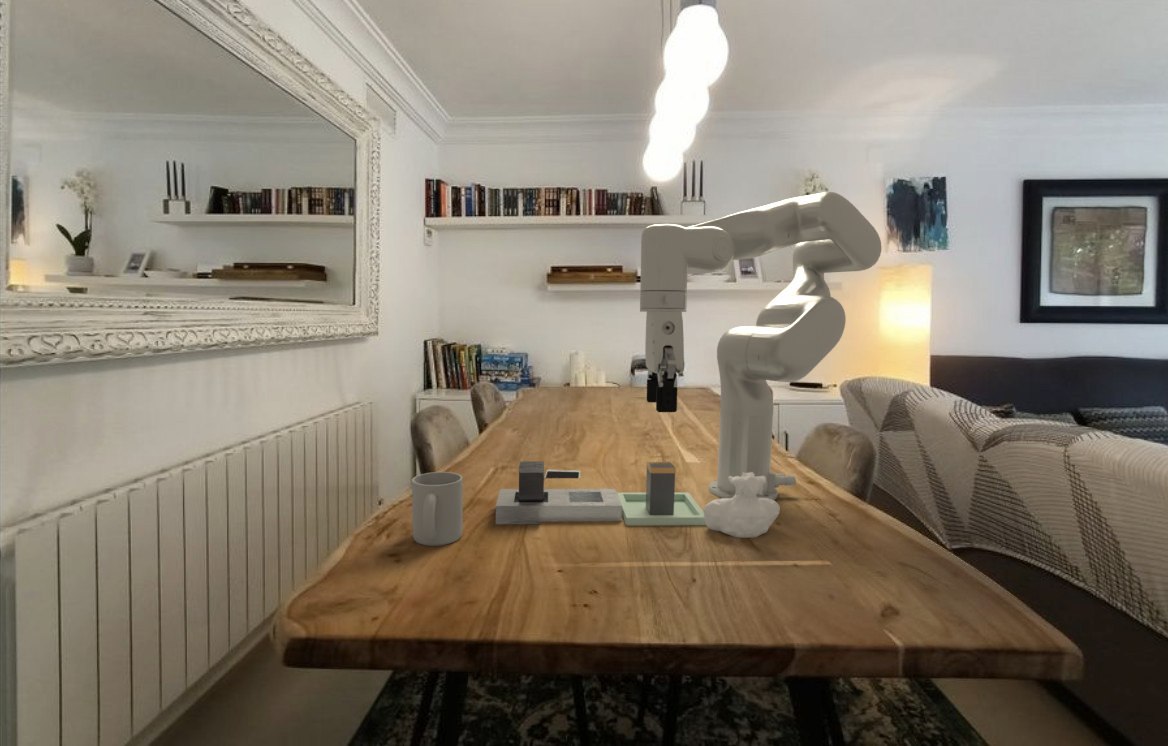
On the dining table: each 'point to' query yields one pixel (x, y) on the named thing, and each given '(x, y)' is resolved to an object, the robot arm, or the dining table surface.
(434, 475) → the cup
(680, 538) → the dining table surface
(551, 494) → the pdu strip
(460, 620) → the dining table surface
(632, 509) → the tray
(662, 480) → the rectangular block
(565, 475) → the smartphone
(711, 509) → the white tied sack
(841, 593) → the dining table surface
